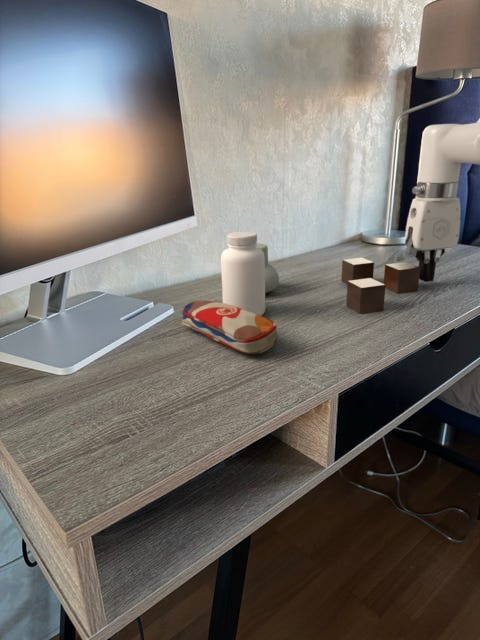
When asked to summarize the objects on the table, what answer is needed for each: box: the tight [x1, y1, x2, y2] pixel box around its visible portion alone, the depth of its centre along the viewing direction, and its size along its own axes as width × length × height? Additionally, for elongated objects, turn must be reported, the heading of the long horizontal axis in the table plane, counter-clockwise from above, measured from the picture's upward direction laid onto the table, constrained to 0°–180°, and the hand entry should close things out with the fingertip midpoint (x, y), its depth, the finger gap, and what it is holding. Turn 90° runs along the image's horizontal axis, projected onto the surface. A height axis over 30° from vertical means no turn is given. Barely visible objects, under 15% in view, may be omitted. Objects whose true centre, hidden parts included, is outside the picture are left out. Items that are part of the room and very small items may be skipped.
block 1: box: [340, 257, 375, 285], centre depth 98 cm, size 5×5×5 cm
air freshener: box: [256, 242, 280, 294], centre depth 95 cm, size 11×8×10 cm
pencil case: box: [181, 300, 279, 355], centre depth 73 cm, size 11×20×5 cm, turn 25°
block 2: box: [346, 278, 386, 315], centre depth 83 cm, size 5×5×5 cm
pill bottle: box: [220, 231, 266, 316], centre depth 81 cm, size 8×8×15 cm
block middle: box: [383, 261, 420, 294], centre depth 93 cm, size 5×5×5 cm
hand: (425, 279), depth 95 cm, fingers closed
